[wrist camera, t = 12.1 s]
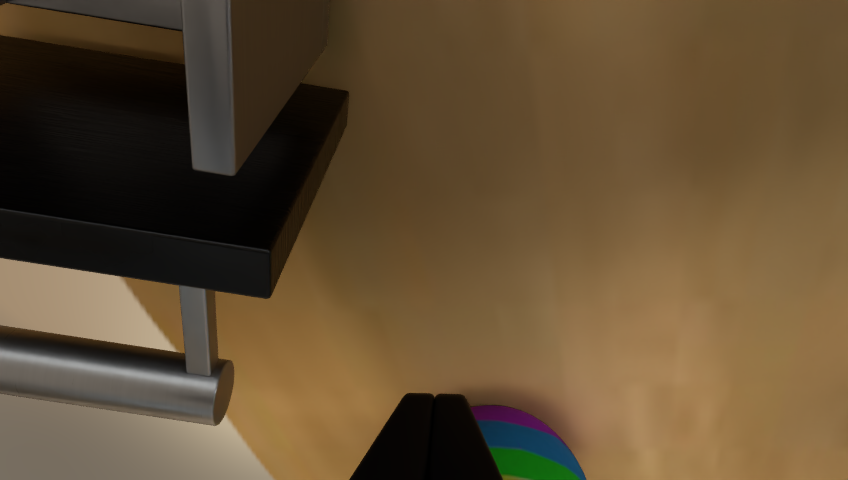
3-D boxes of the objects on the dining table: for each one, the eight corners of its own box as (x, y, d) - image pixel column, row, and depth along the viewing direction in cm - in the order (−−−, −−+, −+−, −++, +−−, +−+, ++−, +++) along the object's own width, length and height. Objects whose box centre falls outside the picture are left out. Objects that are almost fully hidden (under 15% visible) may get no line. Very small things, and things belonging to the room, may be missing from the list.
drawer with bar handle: (336, 256, 22) (268, 463, 15) (31, 209, 22) (-190, 395, 15) (391, -437, 13) (280, -804, 6) (-142, -532, 13) (-1004, -1044, 5)
